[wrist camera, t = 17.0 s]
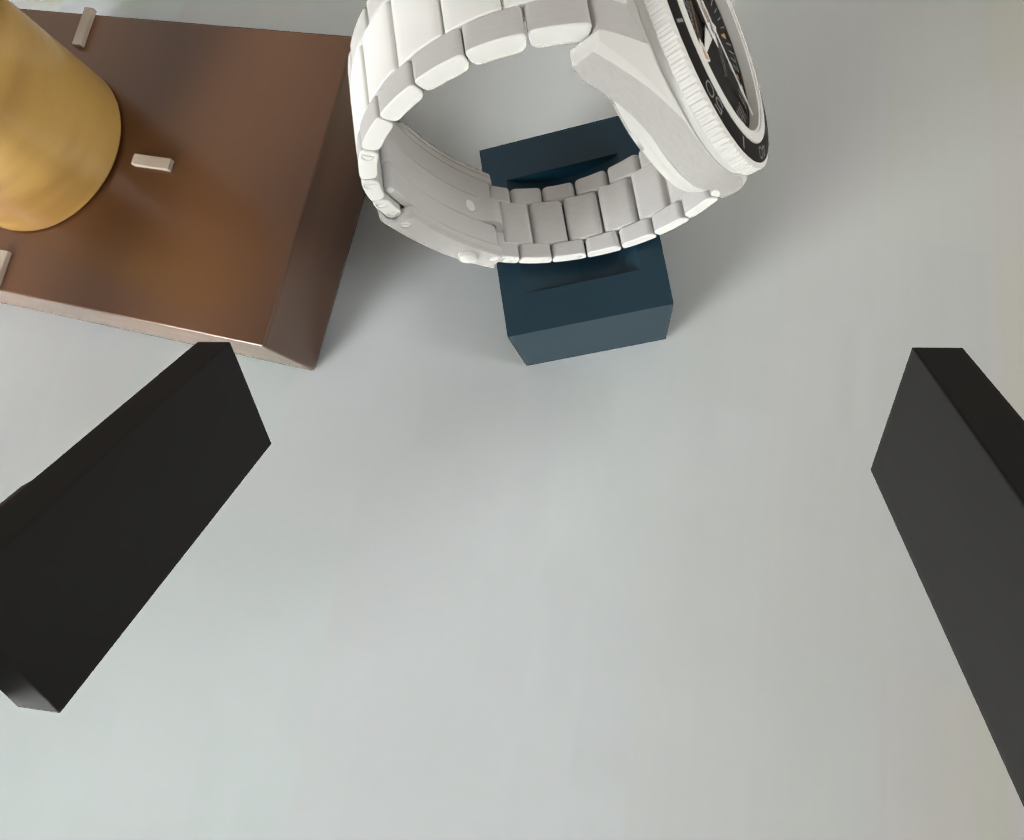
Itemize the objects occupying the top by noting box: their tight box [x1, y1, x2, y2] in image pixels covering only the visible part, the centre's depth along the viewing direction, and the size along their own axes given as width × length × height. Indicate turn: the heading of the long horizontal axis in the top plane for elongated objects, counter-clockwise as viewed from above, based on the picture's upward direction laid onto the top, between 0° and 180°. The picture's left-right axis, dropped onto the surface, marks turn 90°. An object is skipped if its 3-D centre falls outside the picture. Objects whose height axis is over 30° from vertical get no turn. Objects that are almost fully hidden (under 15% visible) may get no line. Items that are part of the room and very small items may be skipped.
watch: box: [348, 0, 769, 365], centre depth 14 cm, size 6×8×11 cm
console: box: [0, 7, 365, 370], centre depth 21 cm, size 15×10×3 cm
